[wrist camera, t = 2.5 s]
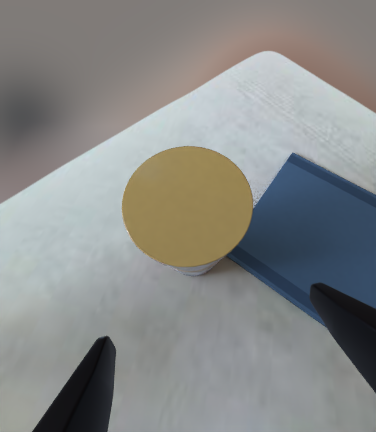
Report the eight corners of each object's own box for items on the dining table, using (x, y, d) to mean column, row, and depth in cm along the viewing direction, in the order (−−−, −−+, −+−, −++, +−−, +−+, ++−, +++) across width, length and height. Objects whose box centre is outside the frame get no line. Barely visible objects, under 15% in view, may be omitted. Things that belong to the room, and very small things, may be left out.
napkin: (468, 244, 20) (472, 244, 20) (422, 395, 16) (426, 397, 16) (291, 153, 25) (292, 152, 25) (222, 253, 21) (223, 252, 21)
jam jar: (232, 242, 21) (278, 186, 9) (198, 291, 20) (201, 299, 8) (187, 210, 23) (175, 127, 11) (152, 253, 21) (94, 212, 9)
